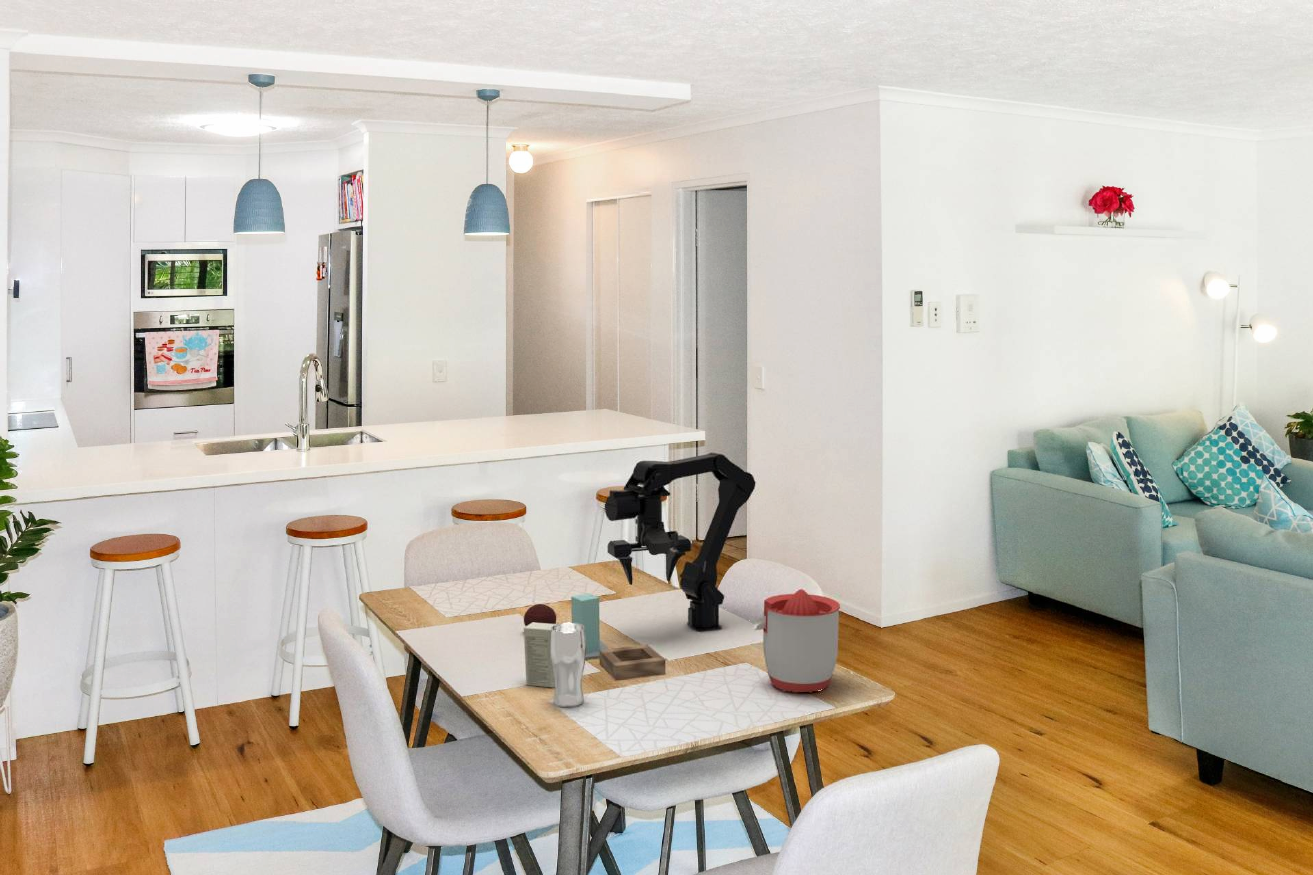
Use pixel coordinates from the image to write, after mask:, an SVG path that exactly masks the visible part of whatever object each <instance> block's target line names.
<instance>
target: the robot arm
mask: <svg viewBox="0 0 1313 875" xmlns="http://www.w3.org/2000/svg"><path fill="white" fill-rule="evenodd" d="M707 473H711V474H712V475H713V477H714V478H715V479H716V480H717V481H718V482H719V484H718V488H717V492H718V493H717V494H718V503H717V507H716V510H715V512H714V514H713V516H712V520H711V521H710V524H709V527H708V530H707V531H706V534H705V537H704V540H703V542H702V544H701V547H700V549H699V553H698V555H697V557H696V558H695V559H694V560H693V561H692V562H691V561H686V562H685V563H684V566H683V570H682V572H681V574H679V578H680V581H679V585H680V587H681V590H682V592H683V593H684V594H685V597H686V600H689V607H688V608H687V622H686V624H687V625H688V627H689V628H690V627H691V628H692V629H693V630H694V631H696V632H704V631H712V630H718V629H719V630H721V629H722V625H721V624H719V622H720V621H719V620H720V619H719V618H720V616H719V615H720V611H719V610H720V605H723V603H724V601H725V600H724V599H725V594H723V593H722V592H721V591H720V590H719V589H718V588H717V587H716V586H717V581H718V569H717V565H718V562H719V560H720V557H721V554H722V552H723V549H724V546H725V544H726V542H727V538H728V536H729V534H730V531H731V529H732V526H733V523H734V521H735V518H736V516H737V513H738V511H739V509H740V508H742V506H743V505H744V504H746V503H747V502H748V501H749V500H750V497H751V496H752V494H753V492H754V490H755V488H756V483H757V482H756V481H755V478H754V475H753V474H752V473H750V472H748V471H745V470H744V469H743V468H741V467H740V466H738V465H737V464H735V463H734V462H732V461H731V460H729V458H728V457H727V456H726V455H724V454H721V453H716V452H709V453H707V454H702V455H696V456H692V457H686V458H681V459H676V460H671V461H663V460H661V461H660V460H659V461H658V460H641V461H638V462H637V463H636V464H635V466H634V468H633V471H632V474H631V476H630V477H629V478H628V481H627V482H626V483H625V485H624V486H623V489H621V490H617V489H616V490H615V489H612V490H609V495H608V496H607V498H606V500H605V503H604V512H605V516H606V518H607V519H608V521H610V522H615V521H622V520H632V519H635V524H636V536H635V542H634V543H629V542H628V541H626V540H625V539H618V540H609V542H608V544H607V554H608V555H610V556H612V557H613V558H614V559H615V558H616V559H617V560H618V561H619V562H620V565H621V566H622V568H623V571H624V574H625V577H626V579H627V583H628V585H630V586H632V585H633V580H634V579H633V566H632V562H633V559H634V558H633V557H632V556H631V555H632V553H633V552H644V551H645V552H646V551H648V553H649V554H650V555H652V556H657V555H665V578H666V581H667V582H670V581H671V579H672V576H673V573H674V571H675V567H676V565H677V563H678V561H679V559H680V558H681V557H683V556H686V554H687V553H688V552H692V542H691V539H689V538H687V537H685V536H684V535H682V534H680V535H679V533H678V531H677V530H669V531H666V530H665V524H664V523H665V522H664V521H663V497H669V496H671V492H670V491H668V490H667V489H666V488H665V486H667V485H670V484H671V483H672V482H673V481H675V480H677V479H681V478H682V479H683V478H687V477H692V476H697V475H701V474H702V475H703V474H707ZM686 552H687V553H686Z"/></svg>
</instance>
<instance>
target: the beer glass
mask: <svg viewBox="0 0 1313 875" xmlns="http://www.w3.org/2000/svg"><path fill="white" fill-rule="evenodd" d="M550 656H551V663H552V668H553V674H554V679H555V686H554V692H553V693H554V694H553V697H552V698H553V699H552V704H554V705H555V706H557V707H559V708H575V707H579V706H582V705H583V704H584V703H585V696H584V690H583V676H584V670H585V666H586V665H585V664H586V660H585V658H586V638H585V627H584V626H583V625H581V624H578V623H572V622H562V623H556V625H554V626H552V627H551V637H550Z"/></svg>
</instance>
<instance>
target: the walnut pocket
mask: <svg viewBox="0 0 1313 875" xmlns="http://www.w3.org/2000/svg"><path fill="white" fill-rule="evenodd" d="M599 665H601V667H602V668H603V669H604V670H605V671H606V672H607V673H608V674H609V675H610V676H611V677H612V678H613V679H614V680H615V681H618V680H628V679H633V678H634V679H635V678H641V677H649V676H650V677H651V676H656V675H664V674H666V659H665V658H664V657H663V656H662V655H661V654H659V653H658V652H657V651H656V650H654V649H653V648H652V647H651V646H650V645H649V644H641V645H640V644H639V645H631V646H623V647H622V646H621V647H616V648H609V649H605V650H600V658H599Z"/></svg>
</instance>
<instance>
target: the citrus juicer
mask: <svg viewBox="0 0 1313 875" xmlns="http://www.w3.org/2000/svg"><path fill="white" fill-rule="evenodd" d="M763 603H764V604H763V616H760V617H758V618H756V620H755V622H754V624H753V631H760V630H763V633H762V634H763V640H762V642H763V643H762V644H763V646H762V648H763V658H764V663H765V667H766V670H767V671H766V672H767V675H768V677H769V681H770V682H771V684H772V685H773V686H774V687H775V688H777V689H779V688H780V689H779V690H781V691H782V690H785V691H788V692H790V691H792V692H791V693H798V692H809V693H813V692H812V691H818V690H821V689H823V688H825V689H826V687H827V686H828V687H829V685H830V683H831V681H832V678H833V676H834V671H835V668H836V665H837V661H838V660H837V659H838V651H839V650H838V649H839V613H840V608H841V605H840V603H839V602H838V601H837V600H835V599H832V598H831V597H826V596H822V595H817V594H810V593H808V592H806V591H805V590H804V589H802V588H800V589H798V590H797V591H796V592H794V593H787V594H786V593H785V594H778V595H773V596H772V595H771V596H770V597H767V598H765V599H764V602H763ZM828 687H827V688H828ZM823 690H824V689H823ZM785 691H784V692H785Z"/></svg>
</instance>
